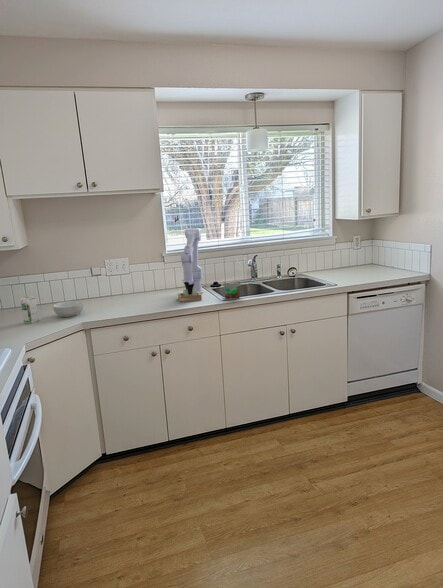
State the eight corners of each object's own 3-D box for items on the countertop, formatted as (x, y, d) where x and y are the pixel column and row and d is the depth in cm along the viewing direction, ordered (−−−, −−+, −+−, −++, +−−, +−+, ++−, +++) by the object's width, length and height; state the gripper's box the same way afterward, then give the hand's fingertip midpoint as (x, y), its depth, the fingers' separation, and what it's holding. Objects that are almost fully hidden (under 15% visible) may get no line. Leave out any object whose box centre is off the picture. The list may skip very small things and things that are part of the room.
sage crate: (183, 296, 261) (182, 290, 260) (195, 294, 263) (195, 288, 262) (184, 297, 256) (184, 291, 256) (197, 296, 258) (196, 289, 257)
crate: (178, 298, 263) (177, 293, 263) (198, 296, 267) (198, 291, 266) (180, 302, 254) (180, 296, 253) (201, 299, 257) (201, 294, 256)
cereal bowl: (84, 317, 230) (82, 305, 229) (53, 320, 226) (51, 308, 224) (85, 310, 246) (83, 299, 245) (56, 313, 242) (54, 302, 240)
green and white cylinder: (23, 323, 224) (19, 298, 221) (32, 320, 229) (28, 295, 226) (30, 324, 222) (26, 298, 219) (39, 321, 227) (35, 296, 224)
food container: (220, 298, 258) (219, 283, 256) (224, 296, 263) (223, 281, 261) (237, 299, 252) (236, 284, 250) (241, 297, 257) (240, 282, 255)
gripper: (180, 271, 262) (181, 291, 265) (183, 275, 248) (185, 296, 251) (190, 270, 264) (192, 290, 267) (194, 274, 250) (196, 295, 253)
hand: (189, 293), depth 259 cm, fingers closed on sage crate, 5 cm apart
